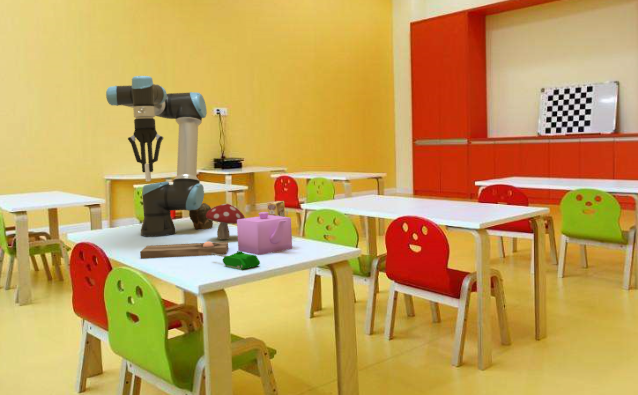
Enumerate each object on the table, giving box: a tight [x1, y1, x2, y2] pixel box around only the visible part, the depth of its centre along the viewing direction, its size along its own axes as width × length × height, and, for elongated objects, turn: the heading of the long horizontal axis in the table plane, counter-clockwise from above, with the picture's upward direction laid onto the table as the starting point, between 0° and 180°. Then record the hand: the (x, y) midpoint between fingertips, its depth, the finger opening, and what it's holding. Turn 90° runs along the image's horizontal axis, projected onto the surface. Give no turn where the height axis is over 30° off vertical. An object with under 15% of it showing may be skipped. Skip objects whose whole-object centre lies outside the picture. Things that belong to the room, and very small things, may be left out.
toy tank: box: [210, 250, 261, 271], centre depth 188 cm, size 7×19×5 cm, turn 47°
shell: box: [188, 202, 214, 230], centre depth 273 cm, size 11×11×12 cm
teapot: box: [236, 211, 293, 256], centre depth 212 cm, size 15×25×14 cm, turn 41°
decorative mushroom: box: [206, 203, 245, 241], centre depth 237 cm, size 16×16×15 cm
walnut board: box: [139, 241, 229, 260], centre depth 211 cm, size 12×30×2 cm, turn 95°
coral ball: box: [203, 241, 214, 247], centre depth 211 cm, size 4×4×4 cm
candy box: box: [267, 200, 286, 217], centre depth 234 cm, size 9×4×15 cm, turn 163°
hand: (148, 180), depth 218 cm, fingers closed
